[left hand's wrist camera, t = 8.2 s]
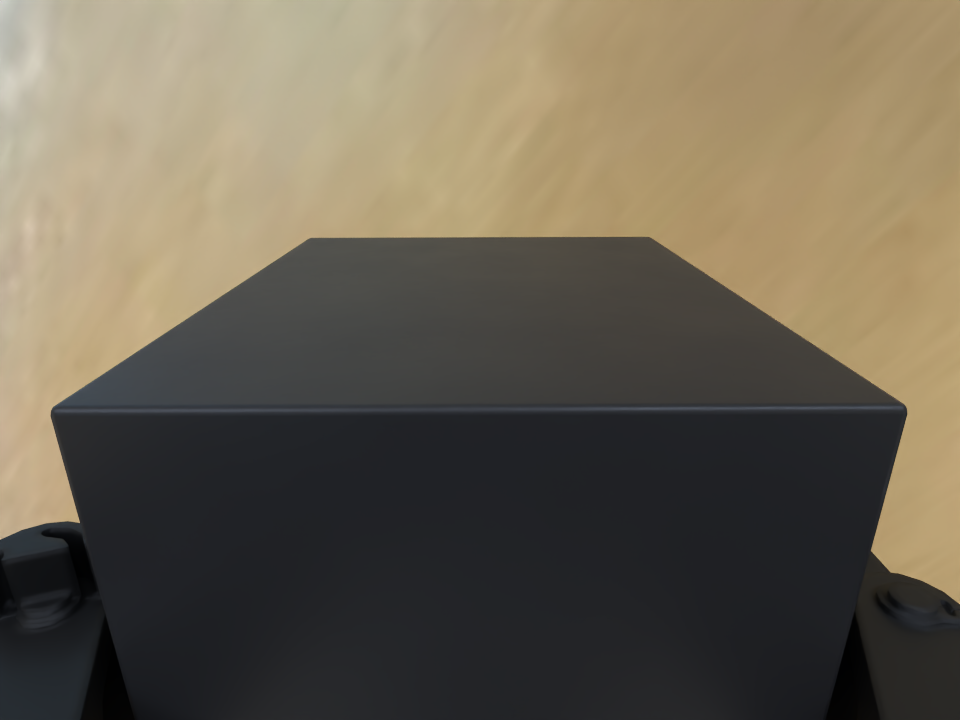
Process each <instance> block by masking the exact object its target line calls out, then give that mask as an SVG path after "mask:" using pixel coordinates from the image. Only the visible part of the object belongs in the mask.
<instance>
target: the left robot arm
mask: <svg viewBox="0 0 960 720" xmlns="http://www.w3.org/2000/svg"><path fill="white" fill-rule="evenodd" d="M0 720H135V719H134V716H133V712H132V709H131V705H130V701H129V698H128V694H127V690H126V687H125V683H124V680H123V676H122V672H121V669H120V665H119V661H118V658H117V654H116V651H115V647H114V643H113V640H112V636H111V632H110V629H109V625H108V622H107V618H106V614H105V611H104V607H103V604H102V600H101V596H100V593H99V589H98V585H97V582H96V578H95V575H94V571H93V567H92V564H91V560H90V556H89V553H88V549H87V546H86V542H85V538H84V535H83V531H82V527H81V524H80V523H75V522H68V521H67V522H57V523H46V524H43V525H39V526H35V527H32V528H28V529H24V530H21V531H19V532H17V533H15V534H12V535H10V536H8V537H6V538H3V539H1V540H0ZM826 720H960V604H958V603H957V602H956V601H954V600H953V599H952V598H951V597H949V596H948V595H947V594H945V593H944V592H942V591H940V590H939V589H937V588H935V587H933V586H931V585H929V584H927V583H925V582H923V581H920V580H917V579H914V578H911V577H908V576H904V575H901V574H896V573H890V572H889V570H888V569H887V568H886V567H885V566H884V565H883V564H882V563H881V562H880V561H879V559H878V558H877V557H876V556H875V555H874V554H873V553H872V552H871V551H870V555H869V559H868V563H867V566H866V570H865V574H864V577H863V581H862V585H861V589H860V592H859V596H858V600H857V604H856V607H855V611H854V615H853V619H852V622H851V626H850V630H849V634H848V637H847V641H846V645H845V649H844V652H843V656H842V660H841V664H840V667H839V671H838V675H837V679H836V682H835V686H834V690H833V694H832V697H831V701H830V705H829V709H828V712H827V716H826Z"/></svg>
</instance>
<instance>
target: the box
mask: <svg viewBox="0 0 960 720" xmlns="http://www.w3.org/2000/svg"><path fill="white" fill-rule="evenodd" d="M906 416H907V408H906V406H905V405H904V404H903V403H901V402H900V401H898V400H897V399H895V398H894V397H892V396H891V395H889V394H888V393H886V392H885V391H883V390H881V389H880V388H878V387H877V386H875V385H874V384H872V383H871V382H869V381H868V380H866V379H865V378H863V377H862V376H860V375H859V374H857V373H856V372H854V371H853V370H851V369H850V368H848V367H846V366H845V365H843V364H842V363H840V362H839V361H837V360H836V359H834V358H833V357H831V356H830V355H828V354H827V353H825V352H824V351H822V350H821V349H819V348H818V347H816V346H815V345H813V344H812V343H810V342H808V341H807V340H805V339H804V338H802V337H801V336H799V335H798V334H796V333H795V332H793V331H792V330H790V329H789V328H787V327H786V326H784V325H783V324H781V323H780V322H778V321H777V320H775V319H773V318H772V317H770V316H769V315H767V314H766V313H764V312H763V311H761V310H760V309H758V308H757V307H755V306H754V305H752V304H751V303H749V302H748V301H746V300H745V299H743V298H742V297H740V296H739V295H737V294H735V293H734V292H732V291H731V290H729V289H728V288H726V287H725V286H723V285H722V284H720V283H719V282H717V281H716V280H714V279H713V278H711V277H710V276H708V275H707V274H705V273H704V272H702V271H700V270H699V269H697V268H696V267H694V266H693V265H691V264H690V263H688V262H687V261H685V260H684V259H682V258H681V257H679V256H678V255H676V254H675V253H673V252H672V251H670V250H669V249H667V248H666V247H664V246H662V245H661V244H659V243H658V242H656V241H655V240H653V239H652V238H650V237H481V238H310V239H308V240H306V241H305V242H303V243H302V244H300V245H299V246H297V247H296V248H294V249H293V250H291V251H290V252H288V253H287V254H285V255H284V256H282V257H281V258H279V259H277V260H276V261H274V262H273V263H271V264H270V265H268V266H267V267H265V268H264V269H262V270H261V271H259V272H258V273H256V274H255V275H253V276H252V277H250V278H249V279H247V280H246V281H244V282H243V283H241V284H240V285H238V286H236V287H235V288H233V289H232V290H230V291H229V292H227V293H226V294H224V295H223V296H221V297H220V298H218V299H217V300H215V301H214V302H212V303H211V304H209V305H208V306H206V307H205V308H203V309H202V310H200V311H198V312H197V313H195V314H194V315H192V316H191V317H189V318H188V319H186V320H185V321H183V322H182V323H180V324H179V325H177V326H176V327H174V328H173V329H171V330H170V331H168V332H167V333H165V334H164V335H162V336H160V337H159V338H157V339H156V340H154V341H153V342H151V343H150V344H148V345H147V346H145V347H144V348H142V349H141V350H139V351H138V352H136V353H135V354H133V355H132V356H130V357H129V358H127V359H126V360H124V361H122V362H121V363H119V364H118V365H116V366H115V367H113V368H112V369H110V370H109V371H107V372H106V373H104V374H103V375H101V376H100V377H98V378H97V379H95V380H94V381H92V382H91V383H89V384H88V385H86V386H85V387H83V388H81V389H80V390H78V391H77V392H75V393H74V394H72V395H71V396H69V397H68V398H66V399H65V400H63V401H62V402H60V403H59V404H57V405H56V406H54V407H53V408H52V410H51V419H52V422H53V426H54V430H55V433H56V437H57V441H58V444H59V448H60V451H61V455H62V459H63V462H64V466H65V470H66V473H67V477H68V480H69V484H70V488H71V491H72V495H73V499H74V502H75V506H76V509H77V513H78V517H79V520H80V524H81V527H82V531H83V535H84V538H85V542H86V546H87V549H88V553H89V556H90V560H91V564H92V567H93V571H94V575H95V578H96V582H97V585H98V589H99V593H100V596H101V600H102V604H103V607H104V611H105V614H106V618H107V622H108V625H109V629H110V632H111V636H112V640H113V643H114V647H115V651H116V654H117V658H118V661H119V665H120V669H121V672H122V676H123V680H124V683H125V687H126V690H127V694H128V698H129V701H130V705H131V709H132V712H133V716H134V719H135V720H826V716H827V712H828V709H829V705H830V701H831V697H832V694H833V690H834V686H835V682H836V679H837V675H838V671H839V667H840V664H841V660H842V656H843V652H844V649H845V645H846V641H847V637H848V634H849V630H850V626H851V622H852V619H853V615H854V611H855V607H856V604H857V600H858V596H859V592H860V589H861V585H862V581H863V577H864V574H865V570H866V566H867V563H868V559H869V555H870V551H871V548H872V544H873V540H874V536H875V533H876V529H877V525H878V521H879V518H880V514H881V510H882V506H883V503H884V499H885V495H886V491H887V488H888V484H889V480H890V476H891V473H892V469H893V465H894V461H895V458H896V454H897V450H898V446H899V443H900V439H901V435H902V431H903V428H904V424H905V420H906Z"/></svg>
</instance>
